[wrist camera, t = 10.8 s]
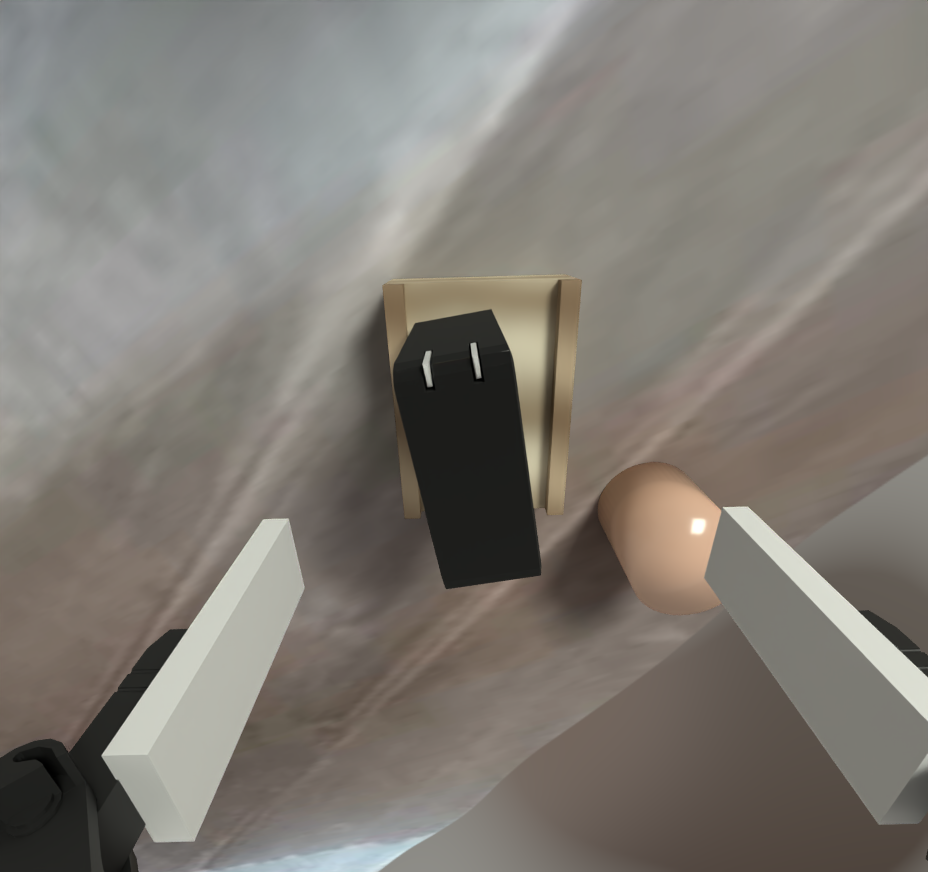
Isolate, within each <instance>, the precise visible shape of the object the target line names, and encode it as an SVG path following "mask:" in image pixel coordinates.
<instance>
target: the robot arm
mask: <svg viewBox="0 0 928 872" xmlns="http://www.w3.org/2000/svg"><path fill="white" fill-rule="evenodd" d="M704 579H705V580H706V582H707V583H708V584H709V586H710V587H711V589H712V590H713V591H714V593H715V594H716V596H717V597H718V598H719V600H720V601H721V603H722V604H723V605H724V607H725V608H726V610H727V611H728V613H729V614H730V615H731V617H732V618H733V620H734V621H735V622H736V624H737V625H738V627H739V628H740V629H741V631H742V632H743V634H744V635H745V637H746V638H747V639H748V641H749V642H750V644H751V645H752V646H753V648H754V649H755V651H756V652H757V653H758V655H759V656H760V658H761V659H762V660H763V662H764V663H765V665H766V666H767V668H768V669H769V670H770V672H771V673H772V675H773V676H774V677H775V679H776V680H777V682H778V683H779V684H780V686H781V687H782V689H783V690H784V691H785V693H786V694H787V696H788V697H789V699H790V700H791V701H792V703H793V704H794V706H795V707H796V708H797V710H798V711H799V713H800V714H801V715H802V717H803V718H804V720H805V721H806V723H807V724H808V725H809V727H810V728H811V730H812V731H813V732H814V734H815V735H816V737H817V738H818V739H819V741H820V742H821V744H822V745H823V746H824V748H825V749H826V751H827V752H828V753H829V755H830V756H831V758H832V759H833V761H834V762H835V763H836V765H837V766H838V768H839V769H840V771H841V772H842V773H843V774H844V776H845V778H846V779H847V780H848V782H849V783H850V784H851V786H852V787H853V789H854V790H855V792H856V793H857V794H858V796H859V797H860V798H861V800H862V802H863V803H864V804H865V806H866V807H867V809H868V810H869V811H870V813H871V814H872V816H873V817H874V818H875V820H876V821H877V823H878V824H914V823H917V824H919V823H920V821H921V820H922V819H923V817H924V816H925V815H926V813H927V812H928V656H927V654H925V653H923V652H921V651H920V648H919V647H918V646H917V645H916V644H914V643H913V642H912V641H911V640H910V639H909V638H908V637H907V636H906V635H904V634H903V633H902V632H901V631H900V630H899V629H898V628H896V627H895V626H893V625H892V624H890V623H888V622H887V621H885V620H883V619H882V618H880V617H879V616H877V615H875V614H874V613H872V612H870V611H869V610H867V611H857V610H856V609H855V608H854V607H853V606H852V605H851V604H850V603H849V602H848V601H847V600H846V599H845V598H843V597H842V596H841V595H840V594H839V593H838V592H837V591H836V590H835V589H834V588H833V587H832V586H831V585H830V584H829V583H828V582H827V581H826V580H825V579H823V578H822V577H821V576H820V575H819V574H818V573H817V572H816V571H815V570H814V569H813V568H812V567H811V566H810V565H809V564H808V563H807V562H805V561H804V560H803V559H802V558H801V557H800V556H799V555H798V554H797V553H796V552H795V551H794V550H793V549H792V548H791V547H790V546H789V545H788V544H787V543H786V542H785V541H783V540H782V539H781V538H780V537H779V536H778V535H777V534H776V533H775V532H774V531H773V530H772V529H771V528H770V527H769V526H768V525H767V524H766V523H765V522H763V521H762V520H761V519H760V518H759V517H758V516H757V515H756V514H755V513H754V512H753V511H752V510H751V509H750V508H749V507H722V511H721V515H720V519H719V522H718V526H717V530H716V534H715V538H714V541H713V545H712V549H711V553H710V557H709V560H708V564H707V568H706V572H705V575H704ZM304 589H305V587H304V583H303V579H302V574H301V570H300V566H299V561H298V557H297V553H296V548H295V544H294V540H293V535H292V531H291V527H290V522H289V519H263V521H262V522H261V523H260V525H259V526H258V528H257V529H256V531H255V532H254V534H253V535H252V537H251V538H250V540H249V541H248V542H247V544H246V545H245V547H244V548H243V550H242V551H241V553H240V554H239V556H238V557H237V559H236V560H235V561H234V563H233V564H232V566H231V567H230V569H229V570H228V572H227V573H226V575H225V576H224V577H223V579H222V580H221V582H220V583H219V585H218V586H217V588H216V589H215V591H214V592H213V594H212V595H211V596H210V598H209V599H208V601H207V602H206V604H205V605H204V607H203V608H202V610H201V611H200V613H199V614H198V615H197V617H196V618H195V620H194V621H193V623H192V624H191V626H190V627H189V629H173V630H169V631H168V632H167V633H165V634H164V635H163V636H162V637H161V638H159V639H158V640H157V641H156V642H155V643H153V644H152V645H151V646H150V647H148V648H147V650H146V651H145V652H144V654H143V655H142V656H141V658H140V659H139V660H138V662H137V663H136V664H135V666H134V667H133V668H132V672H131V674H128V675H127V676H126V678H125V679H124V680H123V682H122V683H121V684H120V686H119V687H118V691H117V692H114V694H113V695H112V696H111V698H110V699H109V700H108V702H107V703H106V704H105V706H104V707H103V708H102V710H101V711H100V712H99V714H98V715H97V716H96V718H95V719H94V720H93V722H92V723H91V724H90V726H89V727H88V728H87V730H86V731H85V732H84V734H83V735H82V736H81V738H80V739H79V740H78V742H77V743H76V744H75V746H74V747H73V748H72V750H71V751H70V752H69V753H68V751H67V750H66V748H65V747H64V745H63V744H62V743H61V742H59V741H56V740H53V739H45V740H38V741H33V742H31V743H28V744H26V745H23V746H21V747H18V748H16V749H14V750H12V751H11V752H9V753H7V754H6V755H4V756H3V757H1V758H0V872H138V865H137V858H136V856H135V854H134V852H133V850H132V849H133V847H134V846H135V844H136V842H137V840H138V838H139V836H140V834H141V832H142V830H143V829H144V827H145V828H146V829H147V831H148V833H149V834H150V836H151V838H152V839H153V841H154V842H189V841H195V839H196V836H197V834H198V832H199V829H200V827H201V825H202V823H203V820H204V818H205V816H206V813H207V811H208V809H209V806H210V804H211V802H212V800H213V797H214V795H215V793H216V790H217V788H218V786H219V784H220V781H221V779H222V777H223V774H224V772H225V770H226V767H227V765H228V763H229V761H230V758H231V756H232V754H233V751H234V749H235V747H236V745H237V742H238V740H239V738H240V735H241V733H242V731H243V728H244V726H245V724H246V722H247V719H248V717H249V715H250V712H251V710H252V708H253V706H254V703H255V701H256V699H257V696H258V694H259V692H260V689H261V687H262V685H263V683H264V680H265V678H266V676H267V673H268V671H269V669H270V667H271V664H272V662H273V660H274V657H275V655H276V653H277V650H278V648H279V646H280V644H281V641H282V639H283V637H284V634H285V632H286V630H287V628H288V625H289V623H290V621H291V618H292V616H293V614H294V611H295V609H296V607H297V605H298V602H299V600H300V598H301V595H302V593H303V591H304ZM926 860H928V851H927V855H926Z"/></svg>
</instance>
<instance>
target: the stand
mask: <svg viewBox="0 0 928 872" xmlns="http://www.w3.org/2000/svg"><path fill="white" fill-rule="evenodd" d="M581 284H582V280H580V279H577V278H574V277H571V276H568V275H529V276H492V277H456V278H419V279H392V280H391V281H389V282H387V283H386V284H384V285H382V286H383V297H384V307H385V318H386V328H387V339H388V349H389V360H390V370H391V380H392V391H393V401H394V412H395V422H396V433H397V443H398V454H399V464H400V475H401V485H402V496H403V506H404V516H405V519H417V518H421V512H422V511H425V509H424V505H423V502H422V498H421V494H420V490H419V486H418V482H417V478H416V474H415V470H414V466H413V462H412V458H411V454H410V451H409V447H408V443H407V439H406V435H405V431H404V427H403V423H402V419H401V415H400V411H399V407H398V403H397V400H396V395H395V390H394V384H393V366H394V362H395V360H396V359H397V357H398V355H399V353H400V351H401V349H402V347H403V345H404V343H405V341H406V339H407V337H408V335H409V334H410V332H411V330H412V328H413V326H414V324H415V323H418V322H424V321H429V320H434V319H440V318H445V317H451V316H456V315H462V314H467V313H472V312H478V311H483V310H489V309H492V312H493V314H494V316H495V318H496V320H497V322H498V324H499V326H500V329H501V331H502V333H503V335H504V337H505V339H506V341H507V344H508V346H509V348H510V351H511V353H512V356H513V361H514V366H515V372H516V379H517V387H518V394H519V401H520V409H521V416H522V424H523V431H524V439H525V446H526V454H527V461H528V469H529V476H530V484H531V491H532V499H533V506H534V508H545V510H546V513H547V515H563V509H564V497H565V484H566V472H567V459H568V447H569V434H570V422H571V409H572V397H573V384H574V372H575V359H576V347H577V334H578V322H579V309H580V297H581Z"/></svg>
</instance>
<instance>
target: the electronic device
mask: <svg viewBox="0 0 928 872" xmlns="http://www.w3.org/2000/svg"><path fill="white" fill-rule="evenodd" d="M393 384H394V390H395V395H396V400H397V403H398V407H399V411H400V415H401V419H402V423H403V427H404V431H405V435H406V439H407V443H408V447H409V451H410V454H411V458H412V462H413V466H414V470H415V474H416V478H417V482H418V486H419V490H420V494H421V498H422V502H423V505H424V509H425V513H426V517H427V521H428V525H429V529H430V533H431V537H432V541H433V545H434V549H435V553H436V556H437V560H438V564H439V568H440V572H441V576H442V579H443V582H444V585H445V588H446V589H451V588H458V587H465V586H472V585H478V584H485V583H492V582H499V581H506V580H513V579H520V578H526V577H533V576H540V575H541V558H540V551H539V543H538V536H537V528H536V521H535V514H534V506H533V499H532V491H531V484H530V476H529V469H528V461H527V454H526V446H525V439H524V431H523V424H522V416H521V409H520V401H519V394H518V387H517V379H516V372H515V366H514V361H513V356H512V353H511V351H510V348H509V346H508V344H507V341H506V339H505V337H504V335H503V333H502V331H501V329H500V326H499V324H498V322H497V320H496V318H495V316H494V314H493V312H492V309H489V310H483V311H478V312H472V313H467V314H462V315H456V316H451V317H445V318H440V319H434V320H429V321H424V322H418V323H415V324H414V326H413V328H412V330H411V332H410V334H409V335H408V337H407V339H406V341H405V343H404V345H403V347H402V349H401V351H400V353H399V355H398V357H397V359H396V360H395V362H394V366H393Z"/></svg>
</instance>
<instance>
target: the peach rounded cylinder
mask: <svg viewBox="0 0 928 872" xmlns="http://www.w3.org/2000/svg"><path fill="white" fill-rule="evenodd" d="M720 515H721V510H720V509H719V508H718V507H717V506H716V505H715V504H714V503H713V502H712V501H711V500H710V499H709V498H708V497H707V496H706V495H705V494H704V493H703V491H702V490H701V489H700V488H699V487H698V486H697V485H696V484H695V483H694V482H693V481H692V480H691V479H690V478H689V477H688V476H687V475H686V474H685V473H684V472H683V471H682V470H680V469H678V468H677V467H675V466H672V465H670V464H666V463H660V462H649V463H643V464H638V465H635V466H632V467H630V468H628V469H626V470H624V471H622V472H621V473H619V474H618V475H616V476H615V477H614V478H613V479H612V480H611V481H610V482H609V483H608V484H607V485H606V487H605V488H604V490H603V492H602V494H601V496H600V499H599V502H598V518H599V521H600V523H601V525H602V527H603V529H604V531H605V533H606V535H607V537H608V539H609V541H610V543H611V545H612V547H613V549H614V552H615V554H616V556H617V558H618V560H619V562H620V564H621V566H622V568H623V570H624V572H625V574H626V576H627V578H628V580H629V582H630V584H631V586H632V588H633V590H634V592H635V594H636V595H637V597H638V598H639V600H640V601H641V602H642V603H643V604H645V605H646V606H647V607H649V608H651V609H653V610H655V611H658V612H660V613H664V614H670V615H690V614H696V613H700V612H703V611H706V610H709V609H712V608H714V607H716V606H718V605H720V604H722V603H721V601H720V600H719V598H718V597H717V596H716V594H715V593H714V591H713V590H712V589H711V587H710V586H709V584H708V583H707V582H706V580H705V579H704V575H705V572H706V568H707V564H708V560H709V557H710V553H711V549H712V545H713V541H714V538H715V534H716V530H717V526H718V522H719V519H720Z"/></svg>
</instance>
